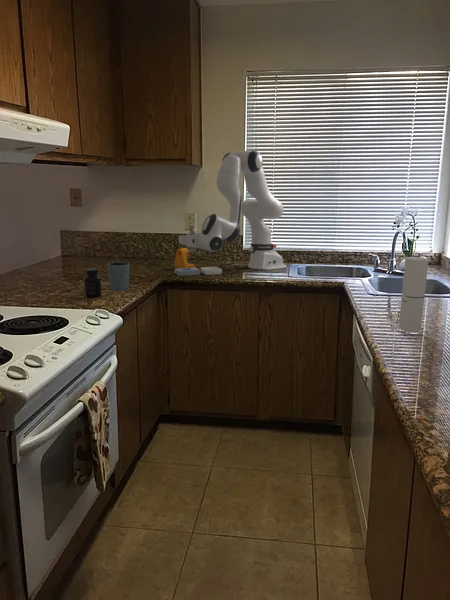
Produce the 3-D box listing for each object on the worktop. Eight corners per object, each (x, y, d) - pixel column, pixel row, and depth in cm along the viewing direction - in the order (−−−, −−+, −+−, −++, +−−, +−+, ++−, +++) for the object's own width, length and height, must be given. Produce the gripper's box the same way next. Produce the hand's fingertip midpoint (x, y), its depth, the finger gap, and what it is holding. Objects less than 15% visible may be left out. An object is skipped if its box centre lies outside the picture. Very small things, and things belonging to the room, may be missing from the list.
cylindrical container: (415, 335, 163) (423, 261, 157) (395, 331, 168) (401, 258, 162) (423, 331, 168) (431, 258, 162) (403, 327, 173) (410, 256, 167)
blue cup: (118, 285, 236) (117, 260, 233) (135, 287, 231) (134, 262, 228) (103, 289, 227) (102, 263, 224) (121, 292, 223) (120, 265, 220)
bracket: (195, 269, 279) (195, 248, 276) (185, 271, 275) (184, 249, 272) (184, 267, 287) (184, 246, 284) (174, 268, 283) (174, 247, 280)
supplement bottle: (88, 294, 217) (86, 267, 214) (103, 294, 217) (102, 267, 214) (83, 298, 211) (81, 270, 208) (99, 298, 210) (97, 270, 208)
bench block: (195, 271, 272) (195, 267, 271) (200, 274, 265) (200, 269, 264) (174, 273, 268) (174, 268, 267) (178, 275, 261) (178, 271, 260)
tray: (216, 271, 275) (216, 266, 274) (221, 274, 266) (222, 269, 266) (200, 272, 272) (200, 267, 271) (205, 275, 263) (205, 270, 263)
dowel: (195, 251, 267) (195, 225, 263) (197, 252, 264) (197, 226, 260) (188, 252, 266) (188, 225, 262) (190, 252, 262) (190, 226, 259)
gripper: (221, 232, 255) (209, 230, 267) (184, 234, 246) (174, 232, 258) (221, 245, 257) (209, 241, 269) (184, 247, 248) (174, 244, 260)
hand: (192, 237), depth 263 cm, fingers closed on dowel, 4 cm apart
